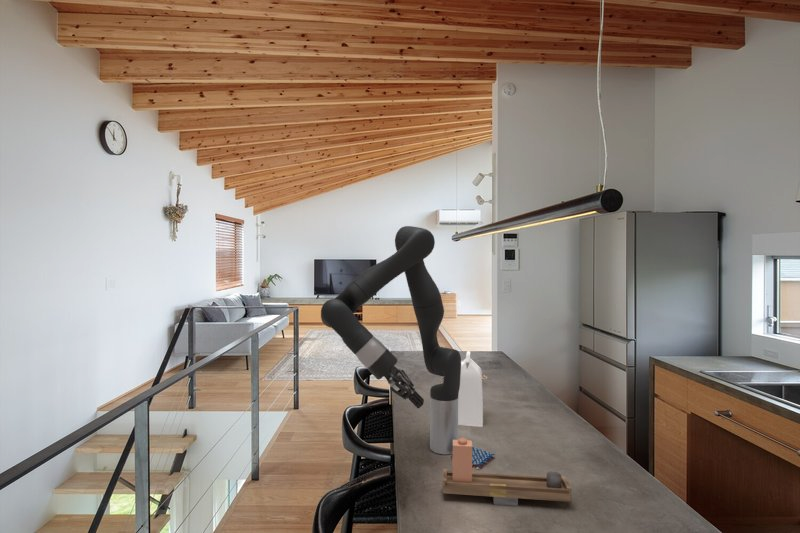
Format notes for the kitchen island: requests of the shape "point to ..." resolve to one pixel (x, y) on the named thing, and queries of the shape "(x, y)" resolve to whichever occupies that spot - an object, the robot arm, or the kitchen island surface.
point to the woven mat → (480, 458)
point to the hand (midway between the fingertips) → (421, 404)
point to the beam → (510, 487)
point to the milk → (470, 394)
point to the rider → (462, 460)
